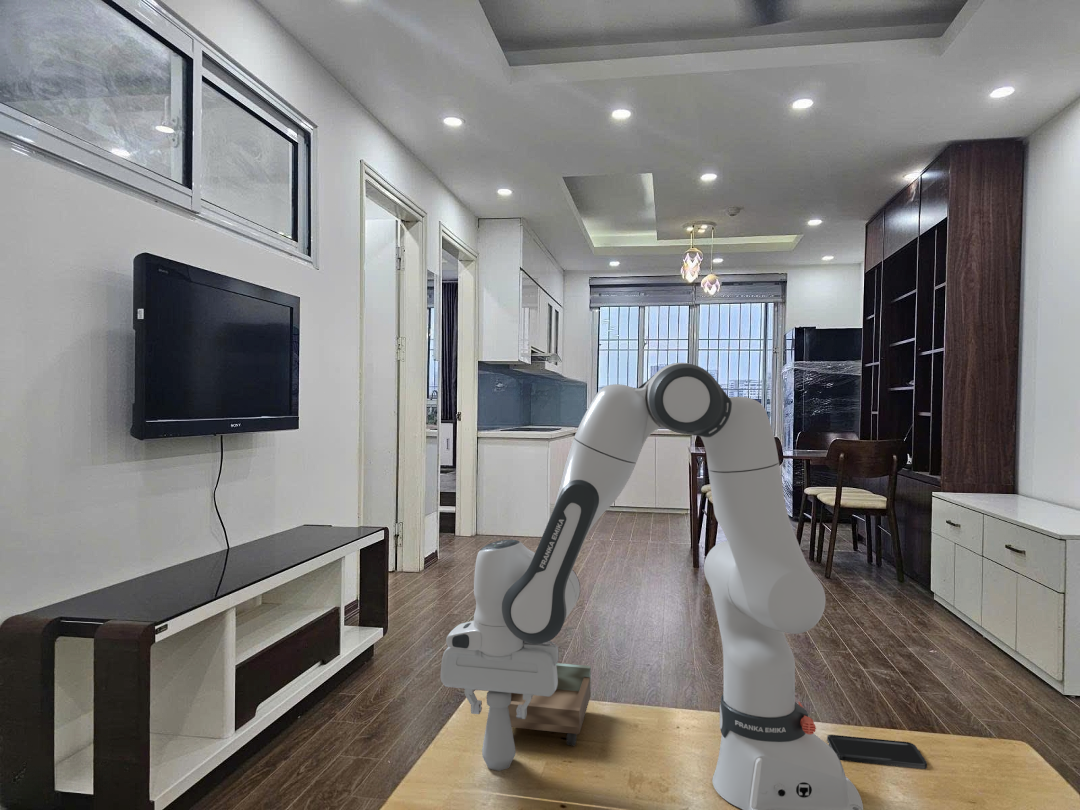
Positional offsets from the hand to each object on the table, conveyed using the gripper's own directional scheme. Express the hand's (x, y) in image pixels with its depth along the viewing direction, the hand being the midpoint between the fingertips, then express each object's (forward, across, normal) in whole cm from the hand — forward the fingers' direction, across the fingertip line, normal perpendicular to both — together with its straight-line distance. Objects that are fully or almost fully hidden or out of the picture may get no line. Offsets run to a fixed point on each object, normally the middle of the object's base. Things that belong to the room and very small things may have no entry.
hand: (498, 715), depth 115 cm
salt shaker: (+9, 0, 0) cm, 9 cm away
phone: (+9, -65, -18) cm, 68 cm away
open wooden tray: (+8, -5, -15) cm, 18 cm away
